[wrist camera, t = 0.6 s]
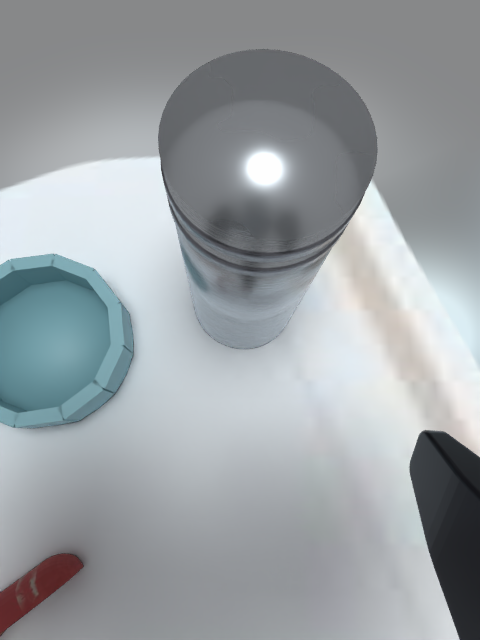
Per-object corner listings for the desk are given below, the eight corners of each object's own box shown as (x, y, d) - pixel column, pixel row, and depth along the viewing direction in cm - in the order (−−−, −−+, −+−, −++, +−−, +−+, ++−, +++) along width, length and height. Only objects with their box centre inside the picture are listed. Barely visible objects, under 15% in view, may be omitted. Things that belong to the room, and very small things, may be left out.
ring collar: (164, 358, 22) (157, 349, 19) (30, 460, 20) (5, 463, 18) (77, 246, 23) (61, 225, 21) (-54, 334, 22) (-88, 322, 19)
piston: (313, 308, 23) (424, 156, 10) (235, 370, 22) (253, 286, 9) (250, 236, 24) (281, 14, 11) (172, 292, 23) (110, 119, 10)
